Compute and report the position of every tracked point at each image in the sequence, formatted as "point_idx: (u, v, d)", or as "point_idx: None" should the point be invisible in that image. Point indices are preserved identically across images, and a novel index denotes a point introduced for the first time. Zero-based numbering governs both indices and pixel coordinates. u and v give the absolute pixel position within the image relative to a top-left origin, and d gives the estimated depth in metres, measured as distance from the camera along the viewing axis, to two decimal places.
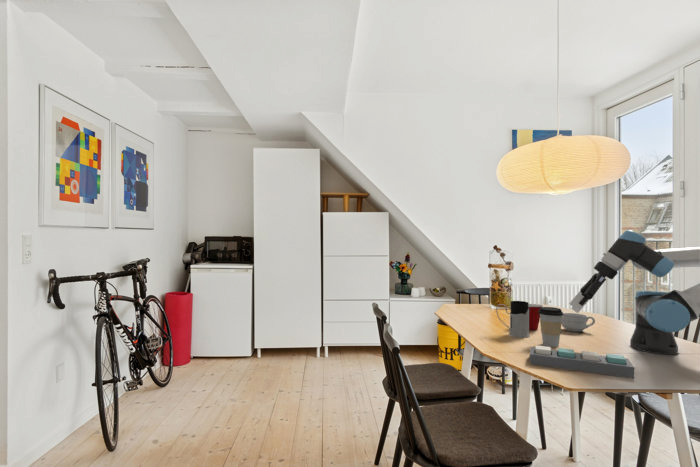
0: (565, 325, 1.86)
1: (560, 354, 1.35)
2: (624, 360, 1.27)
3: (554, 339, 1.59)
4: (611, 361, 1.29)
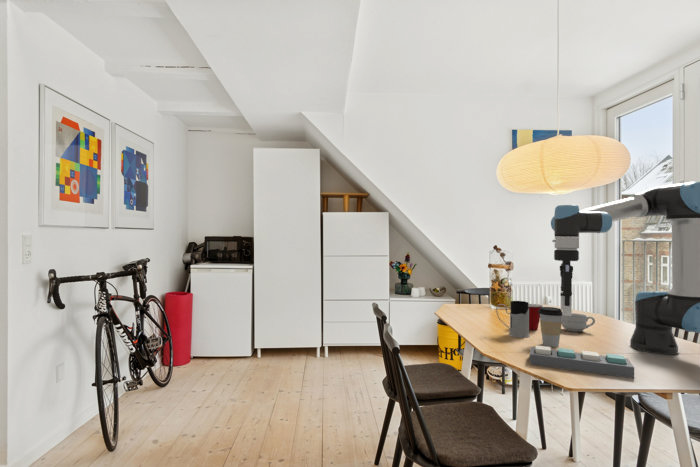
0: (565, 325, 1.86)
1: (560, 354, 1.35)
2: (624, 360, 1.27)
3: (554, 339, 1.59)
4: (611, 361, 1.29)
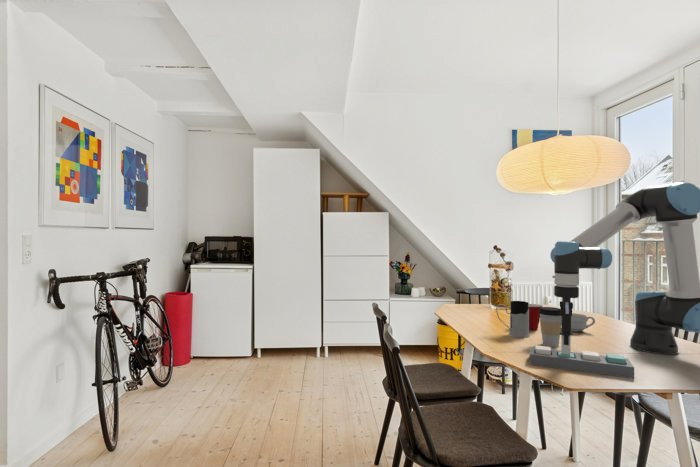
0: None
1: None
2: (624, 360, 1.27)
3: (554, 339, 1.59)
4: (611, 361, 1.29)
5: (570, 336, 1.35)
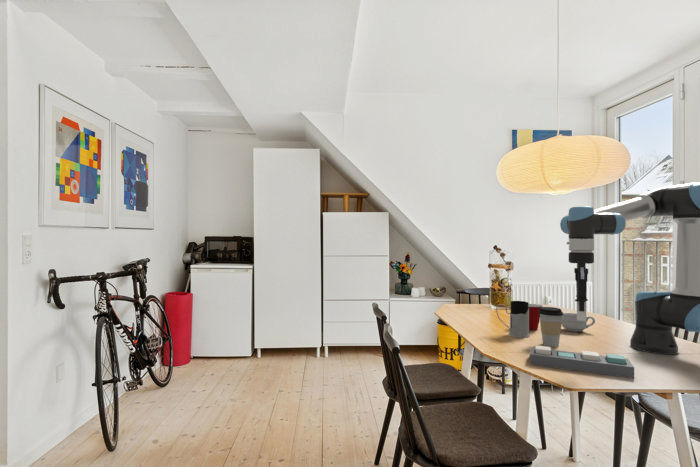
0: (565, 325, 1.86)
1: None
2: (624, 360, 1.27)
3: (554, 339, 1.59)
4: (611, 361, 1.29)
5: None
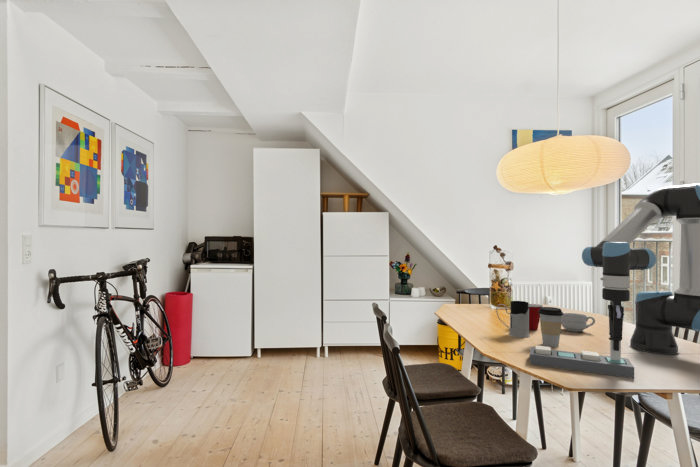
0: (565, 325, 1.86)
1: None
2: None
3: (554, 339, 1.59)
4: None
5: (620, 341, 1.29)
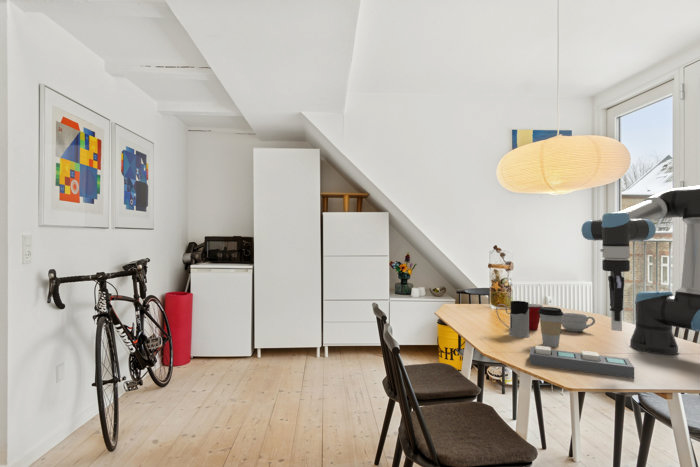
0: (565, 325, 1.86)
1: None
2: None
3: (554, 339, 1.59)
4: None
5: (621, 312, 1.29)
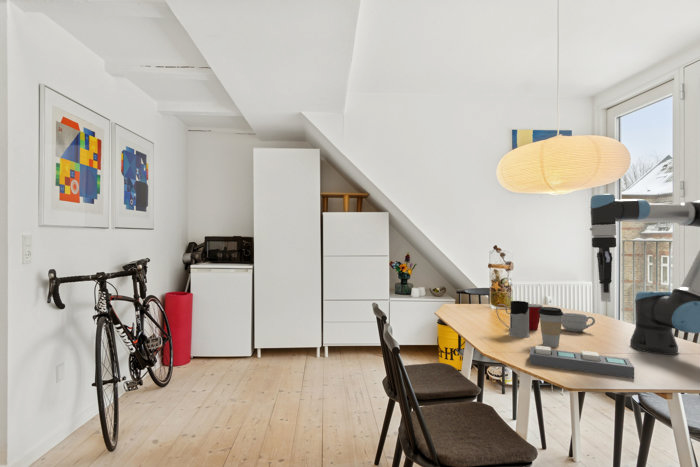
0: (565, 325, 1.86)
1: None
2: None
3: (554, 339, 1.59)
4: None
5: (609, 284, 1.43)
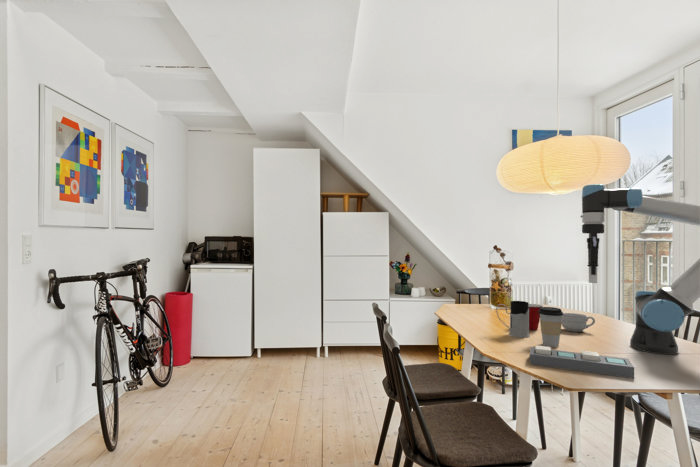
0: (565, 325, 1.86)
1: None
2: None
3: (554, 339, 1.59)
4: None
5: None
